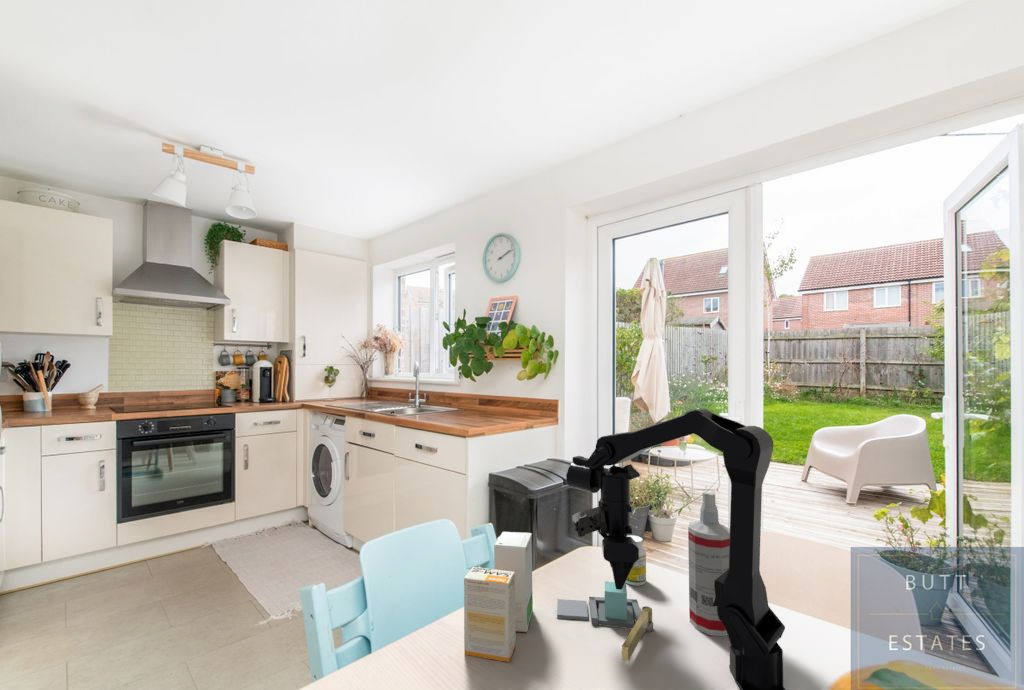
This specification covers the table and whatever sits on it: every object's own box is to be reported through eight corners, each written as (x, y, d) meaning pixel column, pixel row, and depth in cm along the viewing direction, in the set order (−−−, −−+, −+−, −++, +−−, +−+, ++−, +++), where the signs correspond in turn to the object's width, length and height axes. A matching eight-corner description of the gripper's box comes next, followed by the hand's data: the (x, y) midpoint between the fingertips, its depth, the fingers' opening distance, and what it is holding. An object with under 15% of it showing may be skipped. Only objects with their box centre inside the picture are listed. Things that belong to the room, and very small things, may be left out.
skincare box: (526, 634, 83) (526, 548, 84) (491, 629, 84) (492, 545, 85) (533, 609, 91) (533, 532, 92) (501, 606, 92) (502, 529, 93)
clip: (643, 617, 86) (643, 605, 86) (653, 620, 85) (653, 608, 85) (619, 658, 74) (619, 645, 74) (630, 662, 73) (630, 648, 73)
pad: (586, 603, 93) (586, 600, 93) (588, 619, 87) (588, 616, 88) (557, 601, 94) (557, 599, 94) (557, 617, 88) (557, 614, 88)
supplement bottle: (645, 588, 100) (645, 544, 101) (620, 584, 102) (620, 541, 102) (646, 577, 105) (646, 535, 106) (623, 573, 107) (623, 532, 107)
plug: (632, 611, 91) (631, 580, 91) (633, 629, 85) (633, 597, 85) (599, 607, 92) (598, 577, 93) (598, 625, 86) (598, 593, 86)
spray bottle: (712, 640, 81) (710, 500, 82) (681, 619, 88) (679, 490, 89) (742, 629, 85) (739, 495, 86) (709, 609, 91) (707, 485, 92)
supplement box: (516, 646, 79) (516, 570, 80) (508, 663, 75) (509, 583, 75) (472, 638, 81) (473, 565, 82) (462, 655, 77) (463, 577, 77)
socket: (645, 605, 93) (645, 600, 93) (654, 632, 84) (654, 625, 84) (589, 602, 94) (589, 596, 94) (591, 628, 85) (591, 621, 85)
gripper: (573, 484, 100) (573, 555, 99) (575, 511, 81) (576, 599, 80) (624, 485, 98) (625, 558, 98) (638, 513, 80) (639, 603, 79)
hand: (615, 577), depth 89 cm, fingers open, 9 cm apart
